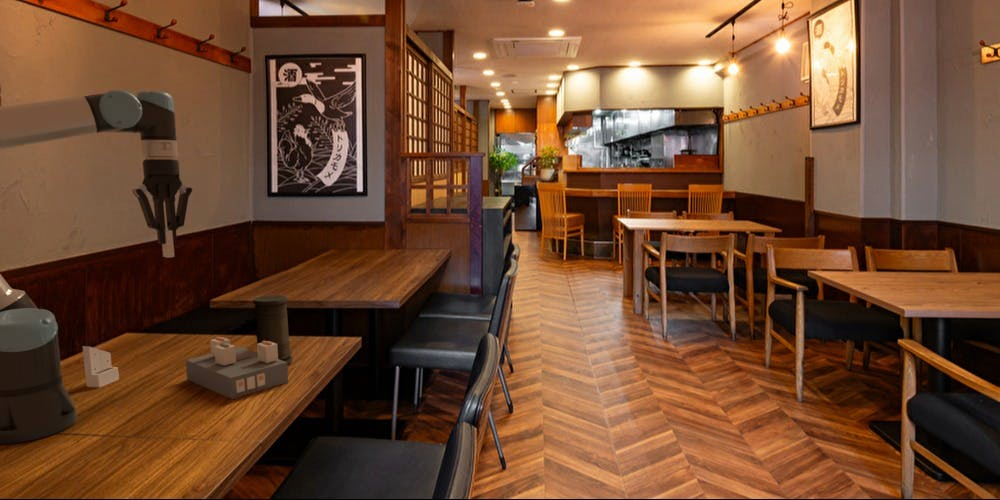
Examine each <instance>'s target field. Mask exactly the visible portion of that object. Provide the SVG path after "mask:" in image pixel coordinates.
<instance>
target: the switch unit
mask: <svg viewBox="0 0 1000 500" xmlns="http://www.w3.org/2000/svg"><path fill="white" fill-rule="evenodd" d="M235 354H236V363H232V364H228V365H221V364H218V363H216V361H215V357H214V356H212V354H211V353H208V354H205V355H202V356H201V355H200V356H196V357H193V358H188V359H185V366H186V367H185V368H186V379H187V380H188V381H189V382H192V383H193V384H194V383H195V384H196V385H199V386H201V387H203V388H205V389H207V390H210V391H212V392H214V393H217V394H220V395H221V396H223V397H226V398H228V399H230V398H231V400H235V399H238V398H237V397H239V398H241V396H242V397H244V396H243V395H245V396H247V395H246V394H248V395H250V394H249V393H251V394H254V393H253V392H255V393H257V392H256V391H258V392H261V391H264V390H268V389H271V388H273V386H274V387H278V386H280V384H281V385H284V384H287V383H289V373H288V365H287V362H285V361H282V360H279V359H278V360H276V361H272V362H269V363H265V362H262V361H260V360H258V353H257V351H254V350H251V349H248V348H245V347H242V346H238V347H235ZM270 387H271V388H270ZM267 388H268V389H267ZM263 389H264V390H263ZM260 390H261V391H260ZM234 398H235V399H234Z"/></svg>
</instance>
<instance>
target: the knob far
mask: <svg viewBox="0 0 1000 500" xmlns="http://www.w3.org/2000/svg"><path fill="white" fill-rule="evenodd" d="M220 343H224V344H226V343H227V344H230V345H232V344H231V339H229V338H226V337H224V336H222V337H220V336H216V337H215V338H213V339H210V351H211V352H210V354H212V356H214V357H215V348H214V346H218V345H220Z"/></svg>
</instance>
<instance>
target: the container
mask: <svg viewBox="0 0 1000 500" xmlns="http://www.w3.org/2000/svg"><path fill="white" fill-rule="evenodd" d="M287 301H288V297H287V295H285V294H284V295H283V294H270V295H269V294H268V295H262V296H258V297H255V298H253V300H252V302H253V304H254V308H255V314H254V317H255V329H256V332H255V333H256V345H257V344H259V343H262V341H269V342H273V343H276V344H277V348H278V359H279V360H282V361H285V362H287V366H289V365H290V364H292V363H293V359H294V358H293V356H292V350H291V345H290V344H291V342H290V337H289V323H288V322H289V321H288V310H287V306H288V305H287V304H288V302H287Z"/></svg>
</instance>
